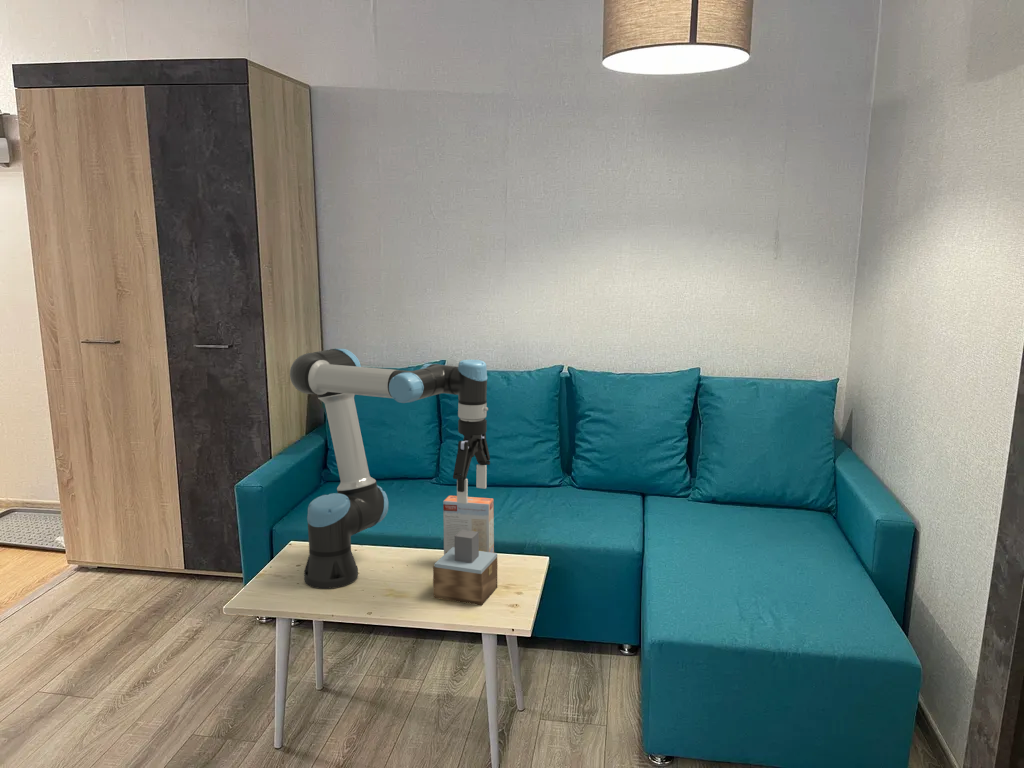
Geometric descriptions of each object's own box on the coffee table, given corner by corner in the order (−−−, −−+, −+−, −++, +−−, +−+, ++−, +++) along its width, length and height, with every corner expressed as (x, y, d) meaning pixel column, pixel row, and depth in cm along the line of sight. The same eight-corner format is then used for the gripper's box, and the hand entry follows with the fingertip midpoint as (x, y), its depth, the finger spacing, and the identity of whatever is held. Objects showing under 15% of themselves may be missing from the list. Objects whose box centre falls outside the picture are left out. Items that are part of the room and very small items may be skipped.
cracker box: (494, 564, 239) (494, 497, 235) (489, 572, 233) (489, 504, 229) (449, 560, 242) (449, 494, 238) (443, 568, 236) (442, 500, 232)
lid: (434, 567, 214) (434, 563, 214) (452, 550, 226) (452, 547, 226) (481, 574, 210) (481, 570, 210) (497, 556, 221) (497, 553, 221)
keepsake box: (432, 597, 216) (432, 566, 215) (450, 580, 227) (450, 550, 226) (482, 605, 212) (482, 573, 210) (498, 587, 223) (498, 557, 221)
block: (454, 560, 216) (454, 536, 215) (461, 553, 221) (461, 529, 219) (471, 563, 214) (471, 538, 213) (478, 556, 219) (478, 532, 218)
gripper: (467, 430, 199) (467, 511, 203) (501, 410, 222) (501, 483, 226) (440, 427, 202) (440, 507, 205) (476, 408, 225) (476, 480, 229)
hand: (472, 495), depth 216 cm, fingers open, 13 cm apart
